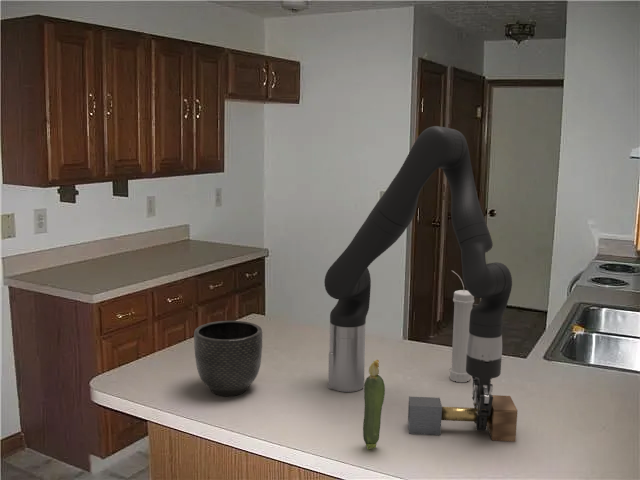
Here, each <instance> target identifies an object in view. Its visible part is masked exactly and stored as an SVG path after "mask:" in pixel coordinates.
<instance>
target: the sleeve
mask: <svg viewBox="0 0 640 480" xmlns="http://www.w3.org/2000/svg"><path fill="white" fill-rule="evenodd" d="M442 407H443V406H442V402H441V398H440V397H427V396H408V411H407V412H408V413H407V428H408V434H409V435H427V436H429V435H430V436H442V435H441V434H442V420H441V418H442Z"/></svg>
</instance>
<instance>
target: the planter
mask: <svg viewBox="0 0 640 480" xmlns="http://www.w3.org/2000/svg"><path fill="white" fill-rule="evenodd" d="M193 332H194V333H193V340H194V341H193V344H194V345H193V346H194V347H193V348H194V349H193V350H194V358H195V365H196V370H197V374H198V376H199V379H200V380H201V381H202V382H203V384H204V385H205V386H207V387H208V388H209V389H210V391H211V392H212V393H213V394H215V395H216V396H217V395H218V396H221V397H231V396H232V397H233V396H238V395H241V394H243V393H245V392H246V391H247V390H248V387H249V386H250V385H251V384H253V383H254V382H255V380H256V378H257V377H258V374H259V372H260V369H261V363H262V357H263V355H262V354H263V328H262V327H261V326H260V325H258V324H256V323H253V322H249V321H244V320H220V321H218V320H217V321H213V322H212V321H211V322H208V323H205V324H202V325H199V326H198V327H196V328H195V329H194V331H193Z"/></svg>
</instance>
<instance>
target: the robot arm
mask: <svg viewBox="0 0 640 480" xmlns="http://www.w3.org/2000/svg"><path fill="white" fill-rule="evenodd" d="M468 145H469V144H468V143H467V138H466V137H465V135H464V134H463V133H462V132H461V131H459V130H457V129H454V128H450V127H445V126H438V125H434V126H430V127H427V128H426V129H424V130H423V131H422V132H421V133H420V134H419V135H418V137H417V138H416V140H415V142H414V143H413V145H412V146H411V149H410V150H409V153H408V155H407V156H406V158H405V160H404V161H403V164H402V165H401V167H400V169H399V170H398V172H397V174H396V175H395V176H394V178H393V179H392V181H391V183H390V184H389V185H388V187H387V189H386V190H385V191H384V193H383V194H382V195H381V197H380V199H378V201H377V203H376V204H375V205H374V207H373V208H372V210H371V211H370V212H369V214H368V216H367V217H366V219H365V221H364V222H363V224H362V225H361V226H360V228H359V229H358V231H357V232H356V233H355V236H353V238H352V240H351V241H350V242H349V244H348V245H347V247H346V248H345V249H344V251H343V252H342V253H341V254H340V255H339V256H338V258H337V259H336V260H335V261H334V262H333V263H332V264H331V266H330V267H329V268H328V270H327V271H326V273H325V276H324V287H325V291H326V293H327V295H328V296H329V297H331V298H333V299H335V300H337V302H336V304H335V305H334V307H333V308H332V309H331V311H330V314H329V351H328V377H327V378H328V379H327V380H328V383H327V384H328V386H327V388H328V389H329V390H334V391H338V392H343V393H344V392H345V393H346V392H347V393H352V392H358V391H361V390H362V389H364V383H365V367H366V364H365V363H366V360H365V358H366V357H365V356H366V322H367V321H366V319H367V315H368V313H369V310H370V303H371V302H370V300H371V288H372V287H371V286H372V284H371V283H372V281H371V274H370V273H371V272H370V271H369V267H370V265H371V264H372V263H373V262H374V261H375V260H376V259H378V258H379V257H380V256H381V255H382V254H383V253H385V252H386V251H387V250H388V249H389V248H390V247H392V246H393V245H394V244H395V243H396V242H397V241H398V240H399V238H400V237H401V236H402V235H403V233H404V232H405V231H406V230H407V228H408V227H409V225H410V224H411V222H412V221H413V219H414V217H415V215H416V211H417V208H418V203H419V202H418V201H419V196H420V193H421V191H422V188H423V187H424V186H425V184H426V183H427V182H428V180H429V179H430V177H431V176H432V175H433V174H434V173H436V170H438V169H442V172H443V174H444V175H445V177H446V180H447V182H448V185H449V189H450V196H451V201H450V202H451V203H450V204H451V206H450V208H451V210H450V214H451V215H450V217H451V223H452V227H453V232H454V234H455V237H456V240H457V243H458V245H459V246H458V247H459V249H460V253H461V254H460V257H461V260H460V261H461V271H462V273H461V274H462V282H463V285H464V288H466V289H465V290H467V291H468V292H469V293H470V294H471V295H472V296H474V298H477V299H481V300H480V301H479V302H478V303H477V304H476V305H474V306H472V310H471V312H470V322H469V336H468V341H467V356H466V372H467V373H468V374H469V375H470V377H471V378H472V380H471V385H472V392H471V394H472V395H471V396H472V397H471V399H472V405H473V408H477V411H476V413H477V418H476V422H473V423H474V424H475V430H477V431H478V432H486V431H487V430H488V428H487V416H490V412H491V406H492V401H493V396H492V395H493V394H492V393H493V389H494V388H493V387H494V385H493V383H492V381H491V380H492V379H497V378H498V377H499V376H500V375H501V372H502V360H503V359H502V356H503V323H504V322H503V317H504V313H505V312H506V309H507V306H508V302H509V300H510V295H511V292H512V286H513V277H512V274H511V271H510V268H508V267H507V265H505V264H504V263H501V262H489V263H487V261H486V253H488V252H489V251H491V249H492V248H493V247H494V245H493V239H492V236H491V233H490V230H489V228H488V225H487V222H486V219H485V216H484V213H483V211H482V208H481V204H480V201H479V200H480V199H479V196H478V193H477V187H476V182H475V178H474V177H475V176H474V173H473V166H472V161H471V157H470V156H471V154H470V150H469V146H468ZM482 409H486V410H482Z"/></svg>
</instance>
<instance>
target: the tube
mask: <svg viewBox="0 0 640 480" xmlns="http://www.w3.org/2000/svg"><path fill="white" fill-rule="evenodd" d="M482 410H486V409H482ZM476 411H477V408H474V407H464V406H463V407H462V406H461V407H460V406H458V407H457V406H442V418H441V421H447V422H448V421H449V422H452V421H453V422H471V423H474V422H476V418H477V413H476ZM492 415H493V409H491V412H490V416H487V422H490V423H492Z"/></svg>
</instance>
